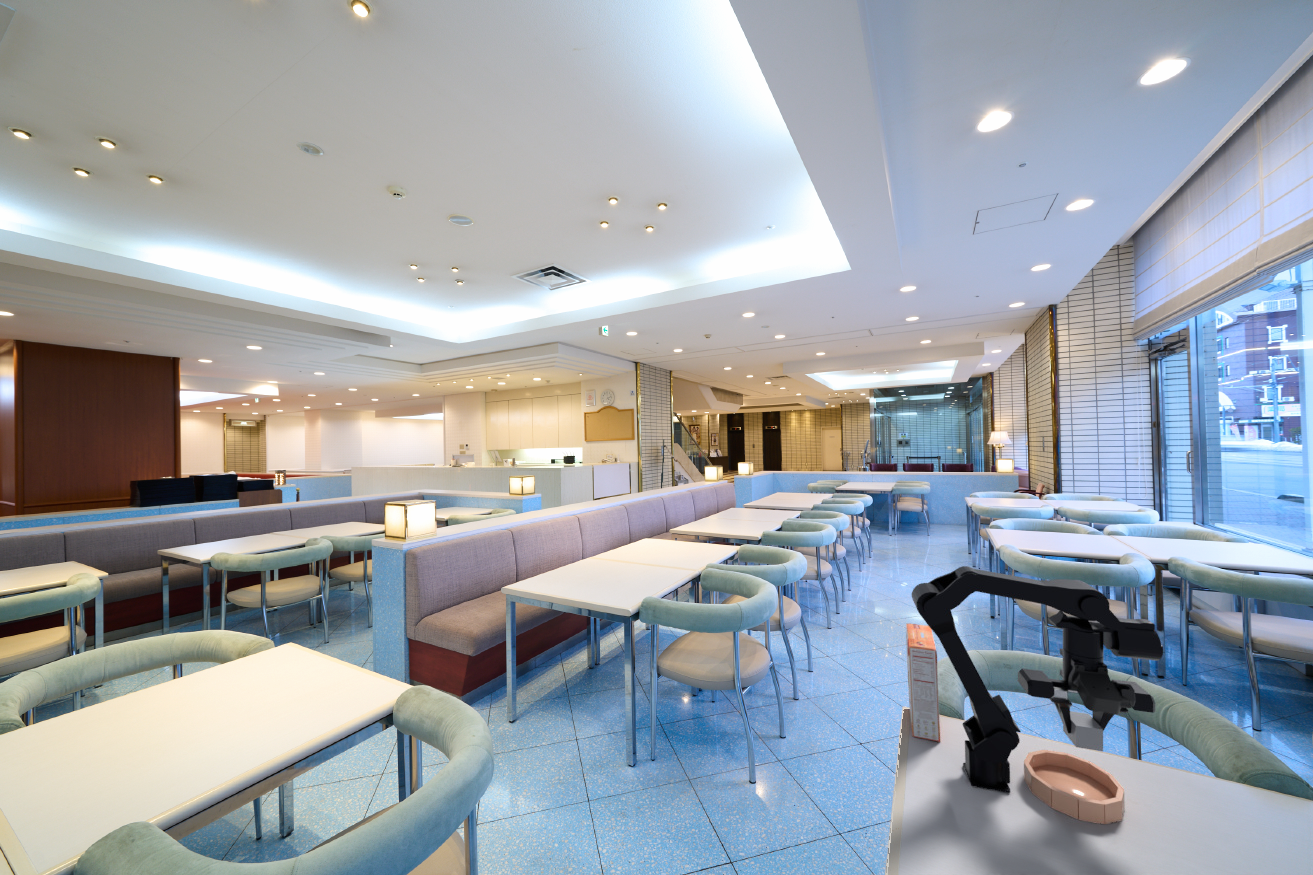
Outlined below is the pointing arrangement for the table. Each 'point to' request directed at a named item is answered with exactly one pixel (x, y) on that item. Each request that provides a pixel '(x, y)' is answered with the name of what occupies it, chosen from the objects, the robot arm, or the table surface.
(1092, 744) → the grey rectangular prism
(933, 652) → the cracker box
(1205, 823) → the table surface
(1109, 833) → the table surface
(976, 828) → the table surface
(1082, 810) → the bowl
